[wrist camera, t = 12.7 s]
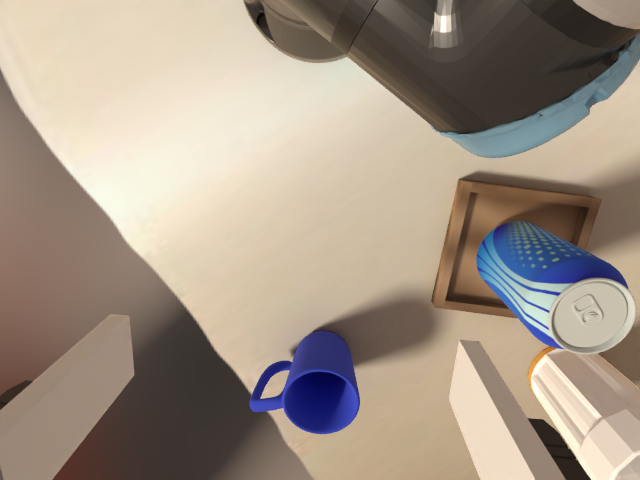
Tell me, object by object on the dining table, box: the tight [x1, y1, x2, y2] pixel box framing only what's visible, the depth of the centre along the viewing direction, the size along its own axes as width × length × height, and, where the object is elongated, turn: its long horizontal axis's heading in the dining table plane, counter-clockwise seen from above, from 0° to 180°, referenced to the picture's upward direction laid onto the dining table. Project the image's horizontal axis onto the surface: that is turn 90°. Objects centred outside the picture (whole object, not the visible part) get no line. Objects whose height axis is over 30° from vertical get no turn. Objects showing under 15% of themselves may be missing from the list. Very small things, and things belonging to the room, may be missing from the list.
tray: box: [431, 179, 601, 318], centre depth 47 cm, size 15×15×2 cm
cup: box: [528, 346, 640, 480], centre depth 44 cm, size 11×11×17 cm
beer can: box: [476, 221, 636, 354], centre depth 39 cm, size 8×8×16 cm
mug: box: [250, 331, 360, 434], centre depth 48 cm, size 8×12×10 cm
